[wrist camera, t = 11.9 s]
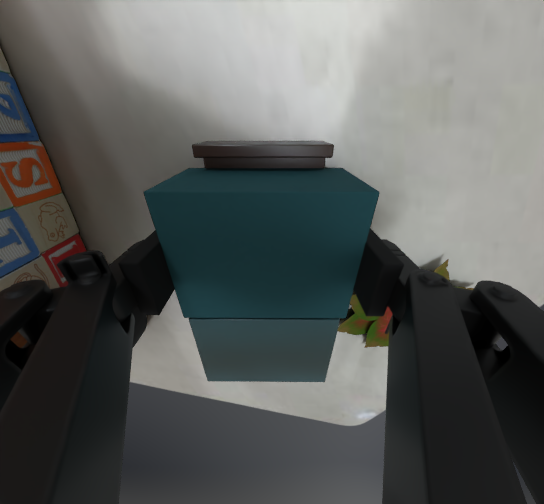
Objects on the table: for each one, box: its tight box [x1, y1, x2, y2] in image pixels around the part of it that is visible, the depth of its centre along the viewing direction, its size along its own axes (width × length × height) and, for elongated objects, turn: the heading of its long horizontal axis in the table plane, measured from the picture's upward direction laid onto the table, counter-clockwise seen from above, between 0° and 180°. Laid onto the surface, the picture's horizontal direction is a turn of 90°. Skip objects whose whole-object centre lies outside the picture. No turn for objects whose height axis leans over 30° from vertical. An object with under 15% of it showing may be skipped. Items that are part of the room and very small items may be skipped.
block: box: [144, 168, 379, 318], centre depth 12 cm, size 7×9×5 cm
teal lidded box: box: [189, 141, 340, 382], centre depth 14 cm, size 17×9×6 cm, turn 0°
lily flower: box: [337, 260, 473, 348], centre depth 17 cm, size 12×12×5 cm
